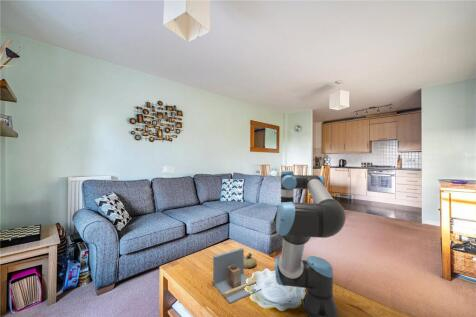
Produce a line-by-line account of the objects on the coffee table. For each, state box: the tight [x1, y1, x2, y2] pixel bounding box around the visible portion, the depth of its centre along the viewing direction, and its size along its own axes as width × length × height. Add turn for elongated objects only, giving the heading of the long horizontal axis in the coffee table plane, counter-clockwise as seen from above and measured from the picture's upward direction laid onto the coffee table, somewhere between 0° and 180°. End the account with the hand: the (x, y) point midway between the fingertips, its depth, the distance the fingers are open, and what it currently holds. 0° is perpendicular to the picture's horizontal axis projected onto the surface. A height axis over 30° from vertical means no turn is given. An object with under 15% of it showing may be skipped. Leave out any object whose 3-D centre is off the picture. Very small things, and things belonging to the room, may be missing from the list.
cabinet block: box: [227, 265, 241, 289], centre depth 111 cm, size 7×5×10 cm
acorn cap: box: [244, 252, 258, 269], centre depth 135 cm, size 10×11×10 cm
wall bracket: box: [212, 247, 257, 304], centre depth 111 cm, size 20×20×16 cm
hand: (287, 231), depth 118 cm, fingers open, 13 cm apart
